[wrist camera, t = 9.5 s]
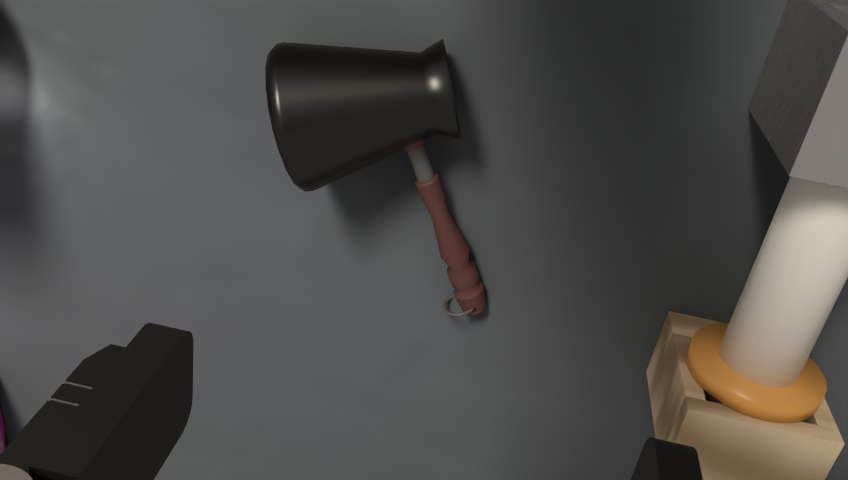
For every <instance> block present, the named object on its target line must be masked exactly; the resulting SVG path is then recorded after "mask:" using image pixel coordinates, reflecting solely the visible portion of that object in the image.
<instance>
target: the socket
mask: <svg viewBox="0 0 848 480" xmlns="http://www.w3.org/2000/svg"><path fill="white" fill-rule="evenodd" d="M714 323H723V322H718V321H714V320H709V319H704V318H700V317H695V316H690V315H686V314H681V313H676V312H672V311H668V314H667V316H666V319H665V322H664V324H663V327H662V330H661V333H660V335H659V338H658V341H657V343H656V346H655V349H654V352H653V354H652V357H651V360H650V362H649V365H648V368H647V370H646V374H647V381H648V388H649V395H650V402H651V409H652V417H653V424H654V431H655V438H656V439H661V440H665V441H670V442H674V443H678V444H683V445H687V446H692V447H694V448H695V449H696V451H697V453H698V458H699V463H700V468H701V473H702V478H703V480H825V478H826V477H827V475H828V473H829V471H830V469H831V468H832V466H833V464H834V462H835V460H836V459H837V457H838V455H839V453H840V451H841V450H842V448H843V446H844V441H843V439H842V437H841V434H840V432H839V430H838V428H837V425H836V423H835V421H834V418H833V416H832V414H831V412H830V409H829V407H828V405H827V402H826V400H825V398H823V400H822V402H821V404H820V406H819V408H818V410H817V411H816V413H815V414H814V415H813V416H811V417H810V418H808V419H806V420H804V421H800V422H793V423H779V422H771V421H766V420H762V419H758V418H754V417H751V416H749V415H746V414H743V413H741V412H739V411H736V410H734V409H732V408H730V407H728V406H727V405H724V404H720V403H715V402H711V401H706V399H705V395H704V390H703V388H702V387H701V386H700V385H699V384H698V383H697V382H696V381H695V379H694V378H693V377H692V375H691V374H690V372H689V370H688V367H687V364H686V352H687V350H688V347H689V345H690V342H691V340H692V337H693V335H694V333H695V332H696V331H697V330H698V329H700V328H701V327H703V326H706V325H709V324H714Z"/></svg>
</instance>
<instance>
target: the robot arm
mask: <svg viewBox="0 0 848 480" xmlns="http://www.w3.org/2000/svg"><path fill="white" fill-rule="evenodd" d="M192 394H193V336H192V334H191V332H189V331H184V330H180V329H176V328H171V327H167V326H162V325H158V324H153V323H147V324H146V325H144V326H143V327H142V329H141V330H140V331H139V332H138V333H137V335H136V336H135V337H134V338H133V339H132V341H131V342H130V343H129V344H128V346H127V347H126V348H125V347H121V346H117V345H112V344H111V345H109V346H107V347H105V348H103V349H102V350H100V351H98V352H96V353H95V354H93V355H91V356H89V357H87V358H86V359H84V360H83V361H82V362H81V363H80V365H79V366H78V367H77V368H76V369H75V370H74V371H73V372H72V374H71V375H70V376H69V377H68V378H67V379H66V383H65V384H62V385H61V386H60V387H59V388H58V390H57V391H56V392H55V393H54V394H53V395H52V396H51V400H50V401H47V402H46V403H45V404H44V405H43V407H42V408H41V409H40V410H39V411H38V412H37V413H36V414H35V416H34V417H33V418H32V419H31V420H30V421H29V422H28V424H27V425H26V426H25V427H24V428H23V429H22V430H21V432H20V433H19V434H18V435H17V436H16V437H15V438H14V439H13V441H12V442H11V443H10V444H9V445H8V446H7V447H6V449H5V450H4V451H3V452H2V453H1V454H0V480H154V478H155V477H156V475H157V473H158V472H159V470H160V468H161V467H162V465H163V464H164V462H165V460H166V459H167V457H168V456H169V454H170V452H171V451H172V449H173V447H174V446H175V444H176V443H177V441H178V439H179V438H180V436H181V434H182V433H183V431H184V429H185V426H186V424H187V421H188V418H189V415H190V411H191V406H192ZM631 480H703V478H702V473H701V468H700V463H699V458H698V453H697V451H696V449H695V448H694V447H692V446H687V445H683V444H678V443H674V442H670V441H665V440H661V439H656V438H652V437H650V438H648V440H647V441H646V443H645V445H644V447H643V450H642V452H641V455H640V457H639V460H638V462H637V465H636V468H635V470H634V473H633V475H632V478H631Z"/></svg>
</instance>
